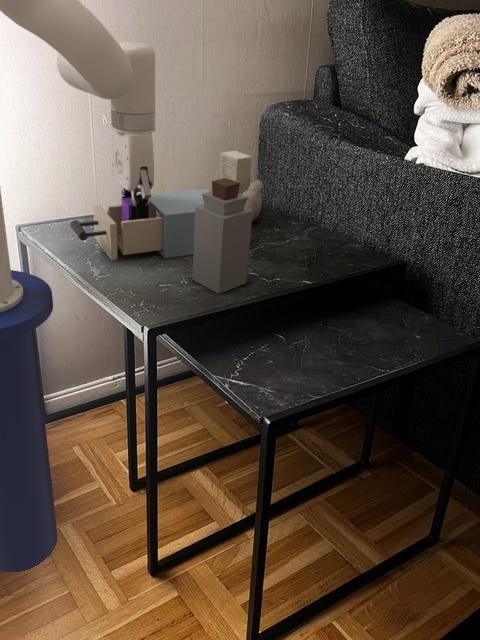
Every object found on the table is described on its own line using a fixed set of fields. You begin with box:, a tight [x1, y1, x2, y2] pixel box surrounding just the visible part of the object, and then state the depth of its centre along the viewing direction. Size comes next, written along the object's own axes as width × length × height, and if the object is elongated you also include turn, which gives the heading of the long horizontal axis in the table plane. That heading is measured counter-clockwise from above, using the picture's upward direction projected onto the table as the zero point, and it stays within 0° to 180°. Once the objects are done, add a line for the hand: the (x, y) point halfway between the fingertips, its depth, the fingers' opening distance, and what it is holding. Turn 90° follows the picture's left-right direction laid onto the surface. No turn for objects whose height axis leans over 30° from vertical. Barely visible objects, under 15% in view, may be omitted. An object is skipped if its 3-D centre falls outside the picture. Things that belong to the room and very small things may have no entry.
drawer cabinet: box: [149, 188, 211, 259], centre depth 120 cm, size 14×12×9 cm
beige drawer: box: [69, 204, 164, 261], centre depth 114 cm, size 18×10×7 cm, turn 118°
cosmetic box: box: [219, 150, 252, 194], centre depth 139 cm, size 6×4×12 cm
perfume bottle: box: [192, 178, 253, 295], centre depth 104 cm, size 7×7×18 cm
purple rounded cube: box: [120, 197, 149, 221], centre depth 114 cm, size 4×4×4 cm
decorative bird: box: [240, 179, 266, 222], centre depth 132 cm, size 5×16×8 cm, turn 163°
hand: (135, 219), depth 114 cm, fingers closed on purple rounded cube, 4 cm apart
